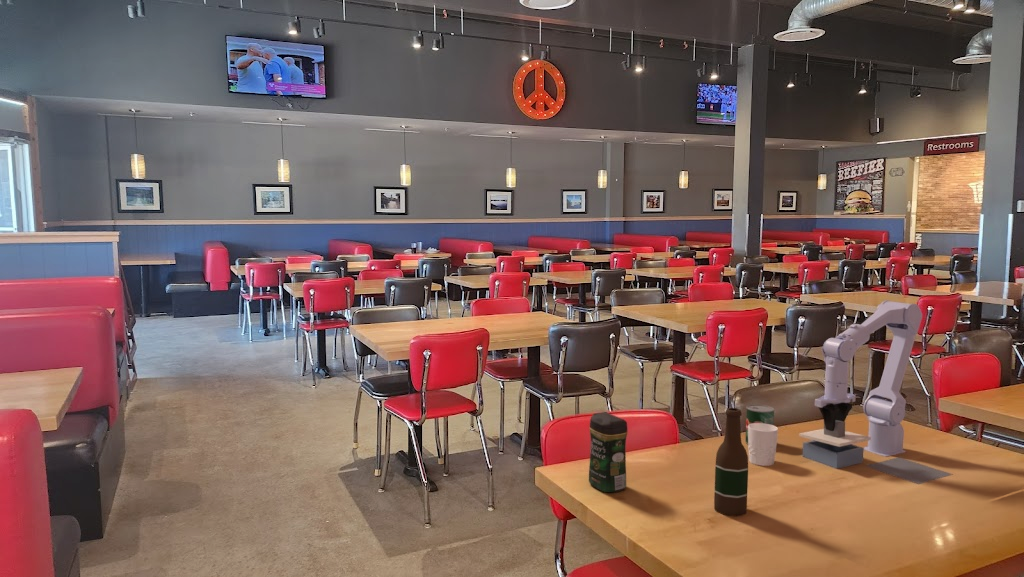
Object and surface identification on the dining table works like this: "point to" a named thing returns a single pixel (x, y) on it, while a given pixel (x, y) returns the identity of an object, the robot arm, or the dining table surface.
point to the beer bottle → (731, 469)
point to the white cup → (762, 443)
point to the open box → (833, 454)
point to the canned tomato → (758, 416)
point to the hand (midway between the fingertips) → (833, 429)
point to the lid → (835, 435)
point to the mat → (909, 470)
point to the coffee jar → (608, 452)
